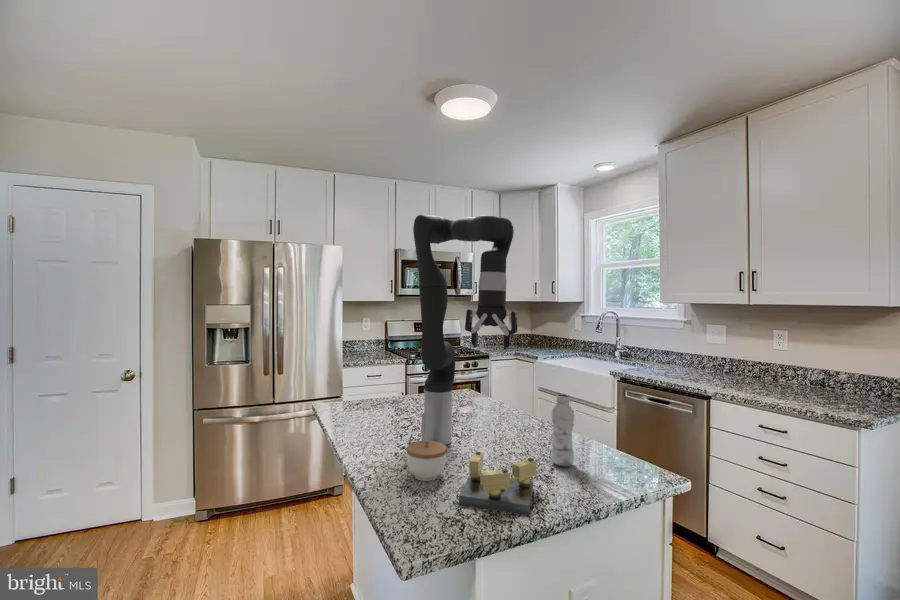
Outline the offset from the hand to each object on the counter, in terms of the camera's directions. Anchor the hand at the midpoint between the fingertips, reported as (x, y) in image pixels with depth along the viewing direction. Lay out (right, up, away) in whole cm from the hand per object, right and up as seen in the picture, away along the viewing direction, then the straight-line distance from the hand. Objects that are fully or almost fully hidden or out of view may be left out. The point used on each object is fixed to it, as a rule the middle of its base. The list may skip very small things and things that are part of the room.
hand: (490, 348), depth 115 cm
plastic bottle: (+21, -35, +6) cm, 41 cm away
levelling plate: (0, -34, -14) cm, 37 cm away
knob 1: (-4, -32, -9) cm, 34 cm away
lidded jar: (-17, -34, -3) cm, 38 cm away
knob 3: (+7, -32, -13) cm, 35 cm away
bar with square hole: (-1, -32, -19) cm, 37 cm away
